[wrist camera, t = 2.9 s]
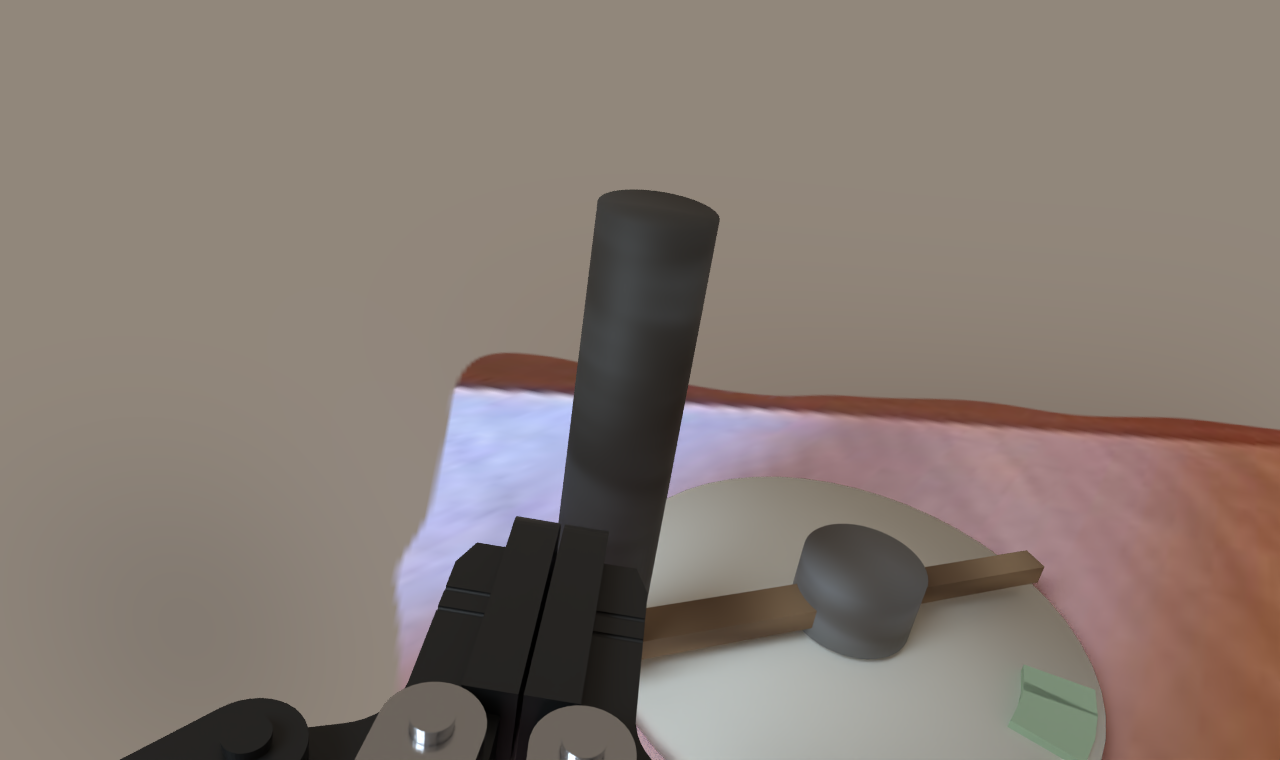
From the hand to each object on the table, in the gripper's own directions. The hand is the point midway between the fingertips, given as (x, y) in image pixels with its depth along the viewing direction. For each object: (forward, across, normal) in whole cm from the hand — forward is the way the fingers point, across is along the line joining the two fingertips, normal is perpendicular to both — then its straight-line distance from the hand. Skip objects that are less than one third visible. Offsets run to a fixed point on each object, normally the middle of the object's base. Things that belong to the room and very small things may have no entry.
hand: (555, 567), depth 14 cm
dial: (+14, -8, +12) cm, 20 cm away
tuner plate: (+15, -10, +13) cm, 22 cm away
